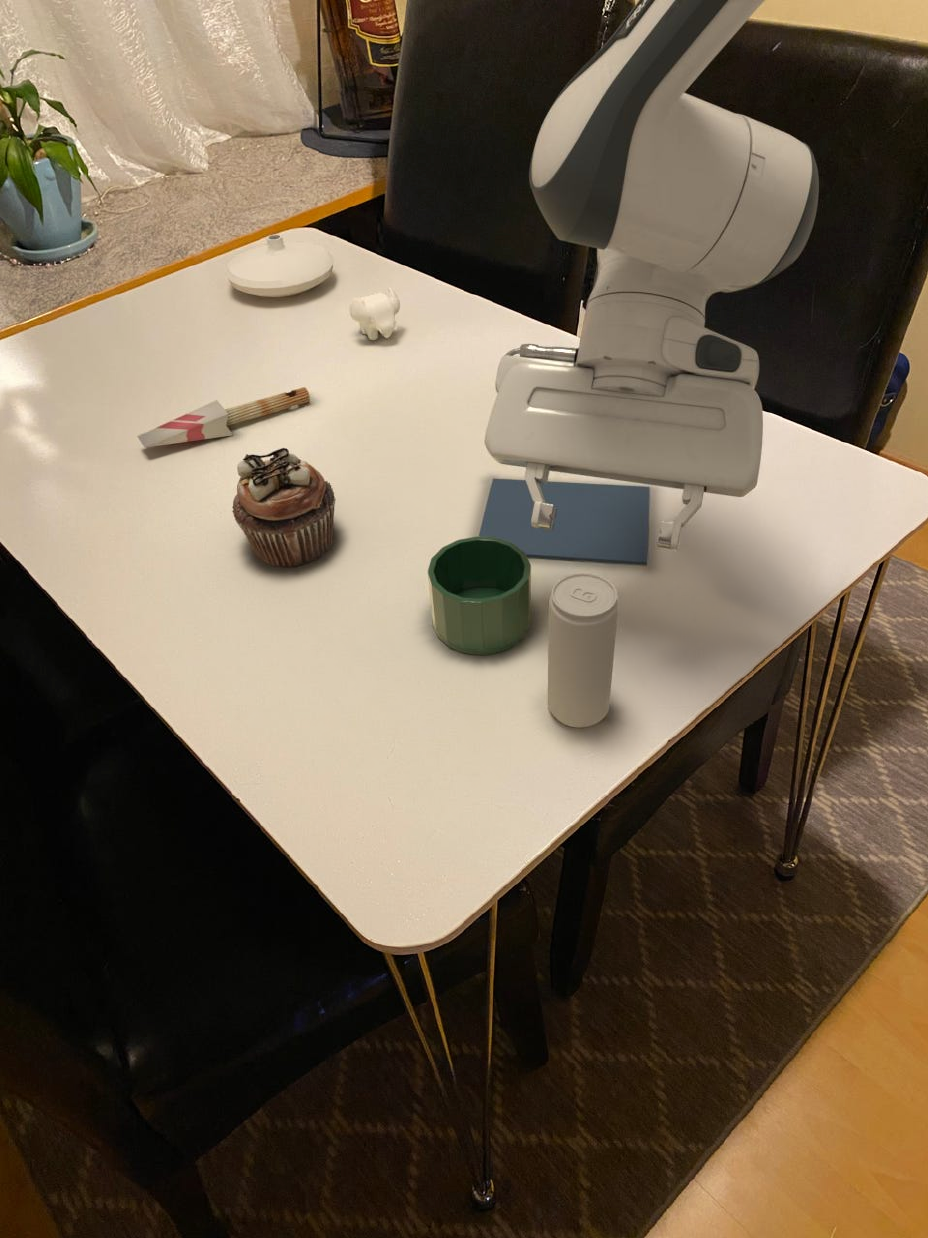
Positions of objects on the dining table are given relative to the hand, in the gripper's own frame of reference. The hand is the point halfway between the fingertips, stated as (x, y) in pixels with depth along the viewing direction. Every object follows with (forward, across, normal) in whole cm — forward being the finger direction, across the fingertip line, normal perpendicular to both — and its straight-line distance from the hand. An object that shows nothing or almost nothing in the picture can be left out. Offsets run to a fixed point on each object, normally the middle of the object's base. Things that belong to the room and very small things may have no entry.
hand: (603, 537), depth 67 cm
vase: (-35, -60, +53) cm, 87 cm away
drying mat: (-3, -6, +20) cm, 21 cm away
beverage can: (+13, 0, +4) cm, 14 cm away
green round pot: (+8, -10, +9) cm, 16 cm away
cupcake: (+4, -31, +13) cm, 34 cm away
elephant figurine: (-27, -40, +44) cm, 65 cm away
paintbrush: (-9, -48, +26) cm, 55 cm away
